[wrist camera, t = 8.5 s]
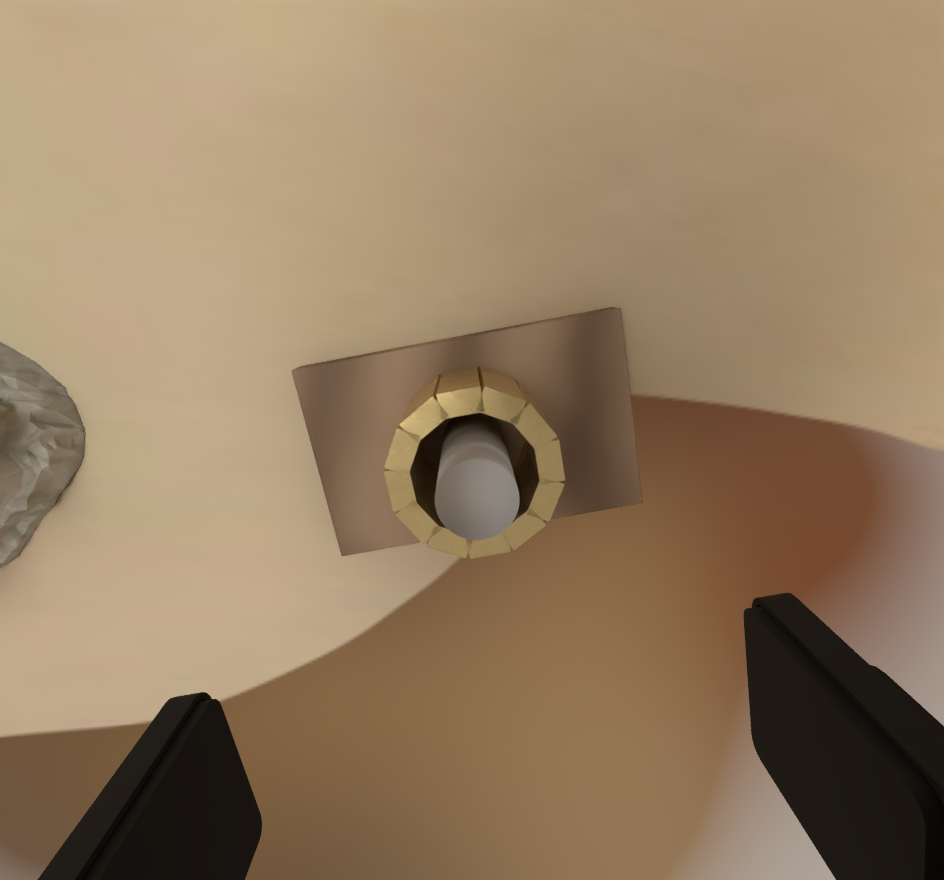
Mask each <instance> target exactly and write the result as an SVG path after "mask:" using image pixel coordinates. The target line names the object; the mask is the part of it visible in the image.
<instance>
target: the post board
mask: <svg viewBox="0 0 944 880" xmlns="http://www.w3.org/2000/svg"><path fill="white" fill-rule="evenodd" d="M473 366H477V370H478V371H479V368H480V366H482V367H485V368H487V369H490V370H493V371H496V372H499V373H502V374H504V375H507V376H510V377H513V378H514V380H517V381H518V383H519V384H520V385H521V386H522V387H523V388H524V390H525V391H526V392H527V393H528V394H529V396H530V397H531V398H532V399H533V400H534V402H535V403H536V404H537V405H538V407H539V408H540V410H541V411H542V413H543V414H544V416H545V417H546V419H547V421H548V422H549V424H550V425H551V427H552V428H553V430H554V431H555V433H556V435H557V437H558V439H559V442H560V449H561V455H562V462H563V469H564V475H565V480H564V481H563V482H564V484H565V485H564V487H563V490H562V492H561V495H560V497H559V499H558V502H557V504H556V507H555V509H554V511H553V514H552V516H551V519H554V518H560V517H565V516H571V515H577V514H583V513H588V512H594V511H600V510H605V509H611V508H617V507H622V506H628V505H633V504H639V503H643V502H642V493H641V486H640V485H641V484H640V476H639V468H638V459H637V449H636V440H635V432H634V423H633V414H632V406H631V396H630V388H629V379H628V370H627V361H626V352H625V344H624V335H623V326H622V317H621V309H620V308H615V307H611V308H606V309H600V310H595V311H590V312H585V313H579V314H574V315H569V316H564V317H558V318H553V319H548V320H543V321H537V322H532V323H527V324H522V325H516V326H511V327H506V328H501V329H495V330H490V331H485V332H480V333H474V334H469V335H464V336H458V337H453V338H448V339H443V340H437V341H432V342H427V343H422V344H416V345H411V346H406V347H401V348H395V349H390V350H385V351H380V352H374V353H369V354H364V355H359V356H353V357H348V358H343V359H338V360H332V361H327V362H322V363H316V364H311V365H306V366H301V367H298V368H296V369H294V370H292V375H293V378H294V382H295V386H296V389H297V393H298V397H299V400H300V404H301V408H302V411H303V415H304V419H305V422H306V426H307V430H308V434H309V437H310V441H311V445H312V448H313V452H314V456H315V459H316V463H317V467H318V470H319V474H320V478H321V481H322V485H323V489H324V493H325V496H326V500H327V504H328V507H329V511H330V515H331V518H332V522H333V526H334V529H335V533H336V537H337V540H338V544H339V548H340V552H341V555H342V556H346V555H352V554H357V553H363V552H369V551H374V550H380V549H386V548H391V547H397V546H403V545H408V544H414V543H419V542H421V541H420V540H419V539H418V538H417V537H416V536H415V535H414V534H413V533H412V532H411V531H410V530H409V529H408V528H407V527H406V526H405V525H404V524H403V522H402V521H401V520H400V519H399V518H398V517H397V516H396V515H395V514H396V511H393V508H392V504H391V500H390V496H389V492H388V487H387V483H386V479H385V475H384V470H385V468H384V466H385V463H386V460H387V457H388V454H389V451H390V448H391V445H392V442H393V439H394V436H395V432H396V429H397V427H398V425H399V423H400V421H401V419H402V417H403V415H404V413H405V411H406V409H407V407H408V405H409V403H410V400H411V399H412V397H413V396H414V395H415V394H416V393H417V392H419V391H420V390H421V389H422V388H423V387H424V386H426V385H427V384H428V383H429V382H430V381H431V380H432V379H434V378H435V377H436V376H437V375H438V374H440V375H442V372H446V371H451V370H457V369H462V368H467V367H473ZM422 441H423V446H424V450H425V455H426V459H427V460H428V461H429V463H430V464H431V465H432V466H433V467H434V468H435V469H436V470H437V471H438V478H437V485H436V492H435V508H436V512H437V515H438V517H439V519H440V520H441V522H442V523H443V525H444V526H445V527H446V528H447V529H448V530H449V531H451V532H452V533H454V534H456V535H457V536H460V537H462V538H466V539H471V540H483V539H488V538H491V537H494V536H496V535H498V534H500V533H501V532H503V531H504V530H505V529H507V528H508V527H509V526H510V524H511V523H512V522H513V520H514V519H515V517H516V515H517V512H518V509H519V499H520V498H519V491H518V487H517V484H516V480H515V476H514V473H513V469H512V467H513V466H515V464H516V461H517V458H518V456H519V453H520V451H521V448H522V446H523V443H524V438H523V435H522V434H521V432H520V431H519V430H518V429H517V428H516V427H515V426H514V424H513V423H510V422H507V421H504V420H501V419H498V418H495V417H492V416H489V415H486V414H483V413H481V412H480V413H474V414H469V415H463V416H458V417H453V418H447V419H445V420H444V421H443V422H442V423H440V424H439V425H438V426H437V427H436V428H434V429H433V430H432V431H431V432H430V433H429V434H427V435H426V436H425V437H424V438H423V439H422Z"/></svg>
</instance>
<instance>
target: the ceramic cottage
mask: <svg viewBox="0 0 944 880" xmlns="http://www.w3.org/2000/svg"><path fill="white" fill-rule="evenodd" d="M84 429H85V428H84V426H83V424H82V422H81V418H80V415H79V413H78V411H77V408H76V405H75V403H74V402H73V400H72V398H70V397H69V396H68V393H67V390H66V388H65V387H64V386H62V385H61V383H60V382H58V381H57V380H56V379H55V378H54V377H53V376H51V375H50V374H49V373H48V372H47V371H46V370H45V369H43V368H42V367H41V366H40V365H39V364H37V363H36V362H35V361H33V360H31V359H29V358H28V357H26V356H24V355H23V354H21V353H19V352H18V351H16V350H14V349H12V348H11V347H9V346H6V345H5V344H3V343H1V342H0V568H1V567H2V566H4V565H6V564H7V563H9V562H11V561H12V560H13V559H14V558H16V557H17V556H19V554H20V553H21V551H22V549H23V548H24V546H25V544H26V543H27V542H28V540H29V539H30V538H31V536H32V534H33V533H34V530H35V528H36V527H38V526H39V525H40V522H41V520H42V519H43V517H44V516H45V515H46V514H47V513H48V512H49V511H50V510H51V509H52V507H53V506H54V505H55V504H56V501H57V499H58V496H59V495H60V494H61V492H62V491H63V490H64V489H65V487H66V486H67V485H68V483H69V482H70V480H71V478H72V476H73V475H74V473H75V472H76V471H77V470H78V468H79V467H80V465H81V462H82V459H83V456H84V439H85V434H86V433H85V432H83V430H84Z"/></svg>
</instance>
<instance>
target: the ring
mask: <svg viewBox="0 0 944 880" xmlns="http://www.w3.org/2000/svg"><path fill="white" fill-rule="evenodd" d="M480 412H481V413H483V414H486V415H489V416H492V417H495V418H498V419H501V420H504V421H507V422H510V423H513V424H514V426H515V427H516V428H517V429H518V430H519V431H520V432H521V434H522V435H523V438H524V443H523V446H522V448H521V451H520V453H519V456H518V458H517V461H516V464H515V466H513V467H512V469H513V473H514V476H515V480H516V484H517V487H518V491H519V498H520V499H519V509H518V512H517V515H516V517H515V519H514V520H513V522H512V523H511V524H510V526H509V527H508V528H507V529H505V530H504V531H503V532H501V533H500V534H498V535H496V536H494V537H491V538H488V539H483V540H471V539H466V538H462V537H460V536H457V535H456V534H454V533H452V532H451V531H449V530H448V529H447V528H446V527H445V526H444V525H443V523H442V522H441V520H440V519H439V517H438V515H437V512H436V508H435V492H436V485H437V478H438V471H437V470H436V469H435V468H434V467H433V466H432V465H431V464H430V463H429V461H428V460H427V459H426V455H425V450H424V446H423V441H422V439H423V438H424V437H425V436H426V435H427V434H429V433H430V432H431V431H432V430H433V429H434V428H436V427H437V426H438V425H439V424H440V423H442V422H443V421H444V420H445V419H447V418H453V417H458V416H463V415H469V414H474V413H480ZM384 468H385V470H384V475H385V479H386V483H387V487H388V492H389V496H390V500H391V504H392V508H393V511H396V514H395V515H396V516H397V517H398V518H399V519H400V520H401V521H402V522H403V524H404V525H405V526H406V527H407V528H408V529H409V530H410V531H411V532H412V533H413V534H414V535H415V536H416V537H417V538H418V539H419V540H420V541H421V542H422V543H423V544H424V543H425V542H427V541H428V542H427V546H428V547H431V548H434V549H437V550H440V551H443V552H447V553H450V554H453V555H456V556H459V557H462V558H466V557H467V555H468V552H469V555H470V559H472V558H478V557H483V556H489V555H495V554H500V553H506V552H510V546H511V547H512V548H513V549H514V550H515V549H516V548H518V547H519V546H520V545H522V544H523V543H524V542H525V541H527V540H528V539H529V538H531V537H532V536H533V535H534V534H536V533H537V532H538V531H540V530H541V529H542V528H543V527H545V526H546V525H547V524H546V522H545V521H550V519H551V516H552V514H553V511H554V509H555V507H556V504H557V502H558V499H559V497H560V495H561V492H562V490H563V487H564V485H565V484H564V482H563V481H564V480H565V475H564V469H563V462H562V455H561V449H560V442H559V439H558V437H557V435H556V433H555V431H554V430H553V428H552V427H551V425H550V424H549V422H548V421H547V419H546V417H545V416H544V414H543V413H542V411H541V410H540V408H539V407H538V405H537V404H536V403H535V402H534V400H533V399H532V398H531V397H530V396H529V394H528V393H527V392H526V391H525V390H524V388H523V387H522V386H521V385H520V384H519V383H518V381H517V380H514V378H513V377H510V376H507V375H504V374H502V373H499V372H496V371H493V370H490V369H487V368H485V367H482V366H480V368H479V371H478V370H477V366H473V367H467V368H462V369H457V370H451V371H446V372H442V375H440V374H438V375H437V376H436V377H435V378H434V379H432V380H431V381H430V382H429V383H428V384H427V385H426V386H424V387H423V388H422V389H421V390H420V391H419V392H417V393H416V394H415V395H414V396H413V397H412V399H411V400H410V403H409V405H408V407H407V409H406V411H405V413H404V415H403V417H402V419H401V421H400V423H399V425H398V427H397V429H396V432H395V436H394V439H393V442H392V445H391V448H390V451H389V454H388V457H387V460H386V463H385V466H384Z"/></svg>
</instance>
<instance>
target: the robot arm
mask: <svg viewBox="0 0 944 880" xmlns="http://www.w3.org/2000/svg"><path fill="white" fill-rule="evenodd" d="M744 629H745V643H746V659H747V674H748V689H749V703H750V716H751V717H750V718H751V733H752V740H753V743H754V746H755V749H756V752H757V754H758V756H759V758H760V760H761V762H762V763H763V764H764V766H765V768H766V770H767V771H768V773H769V774H770V776H771V777H772V779H773V780H774V782H775V784H776V785H777V787H778V788H779V790H780V792H781V793H782V795H783V796H784V798H785V799H786V801H787V803H788V804H789V806H790V808H791V809H792V811H793V812H794V814H795V815H796V817H797V818H798V820H799V822H800V823H801V825H802V827H803V828H804V830H805V831H806V833H807V834H808V836H809V837H810V839H811V841H812V842H813V844H814V845H815V847H816V849H817V850H818V852H819V853H820V855H821V857H822V858H823V860H824V861H825V863H826V864H827V866H828V868H829V869H830V871H831V872H832V874H833V876H834V877H835V879H836V880H944V726H943V725H942V724H941V723H939V722H938V721H937V720H936V719H935V718H934V717H933V716H932V715H931V714H930V713H928V712H927V711H926V710H925V709H924V708H923V707H922V706H921V705H920V704H919V703H918V702H916V701H915V700H914V699H913V698H912V697H911V696H910V695H909V694H907V692H905V691H904V690H903V689H902V688H901V687H900V686H899V685H898V684H897V683H895V682H894V681H893V680H892V679H891V678H890V677H889V676H888V675H887V674H886V673H884V672H883V671H881V670H880V669H878V668H877V667H875V666H871V665H869V664H868V663H867V662H866V661H865V660H864V659H862V658H861V657H860V656H859V655H858V654H857V653H856V652H855V651H854V650H853V649H852V648H850V647H849V646H848V645H847V644H846V643H845V642H844V641H843V640H842V639H841V638H840V637H839V636H838V635H836V634H835V633H834V632H833V631H832V630H831V629H830V628H829V627H828V626H827V625H826V624H824V623H823V622H822V621H821V620H820V619H819V618H818V617H817V616H816V615H815V614H814V613H813V612H812V611H810V610H809V609H808V608H807V607H806V606H805V605H804V604H803V603H802V602H800V600H799V599H797V598H796V597H795V596H794V595H792V594H791V593H783V594H777V595H771V596H765V597H759V598H755V599H754V600H753V603H752V608H747V609H745V611H744ZM261 830H262V821H261V814H260V811H259V808H258V806H257V803H256V800H255V797H254V795H253V792H252V789H251V786H250V784H249V781H248V778H247V775H246V772H245V770H244V767H243V764H242V761H241V759H240V756H239V753H238V750H237V747H236V745H235V742H234V739H233V736H232V734H231V731H230V728H229V725H228V722H227V720H226V717H225V714H224V711H223V709H222V706H221V704H220V702H219V701H218V700H217V699H211V697H210V695H208V694H207V693H204V692H201V693H196V694H190V695H184V696H178V697H173V698H171V699H169V700H168V701H167V702H166V703H165V705H164V706H163V707H162V709H161V710H160V712H159V713H158V714H157V716H156V717H155V718H154V720H153V721H152V723H151V724H150V725H149V727H148V728H147V729H146V731H145V732H144V734H143V735H142V736H141V738H140V739H139V741H138V742H137V743H136V745H135V746H134V747H133V749H132V750H131V752H130V753H129V754H128V756H127V757H126V758H125V760H124V761H123V763H122V764H121V765H120V767H119V768H118V769H117V771H116V772H115V774H114V775H113V776H112V778H111V779H110V781H109V782H108V783H107V785H106V786H105V788H104V789H103V790H102V792H101V793H100V794H99V796H98V797H97V798H96V800H95V801H94V803H93V804H92V805H91V807H90V808H89V809H88V811H87V813H86V814H85V815H84V817H83V818H82V819H81V821H80V822H79V823H78V825H77V826H76V827H75V829H74V830H73V832H72V833H71V834H70V836H69V837H68V838H67V840H66V841H65V843H64V844H63V845H62V847H61V848H60V850H59V851H58V852H57V854H56V855H55V856H54V858H53V859H52V861H51V862H50V863H49V865H48V866H47V867H46V869H45V871H44V872H43V873H42V874H41V876H40V877H39V879H38V880H245V878H246V875H247V872H248V870H249V867H250V864H251V862H252V859H253V856H254V853H255V851H256V848H257V845H258V843H259V840H260V836H261Z"/></svg>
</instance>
